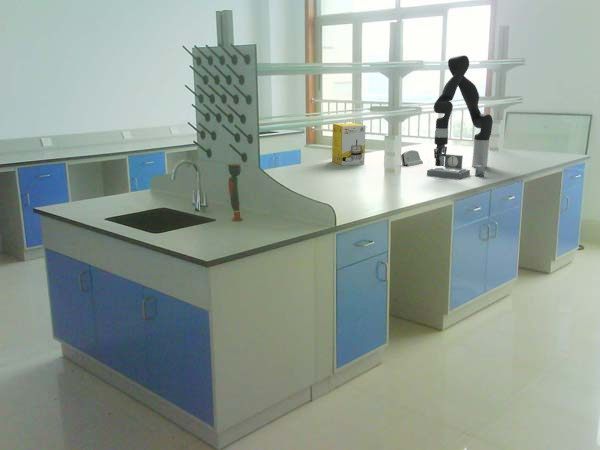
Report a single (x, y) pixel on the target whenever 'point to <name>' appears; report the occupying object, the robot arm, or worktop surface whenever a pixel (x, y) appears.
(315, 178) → the worktop surface
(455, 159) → the scale
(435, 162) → the cylinder
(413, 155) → the grey rounded panel
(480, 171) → the cylinder
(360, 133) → the packaging box
